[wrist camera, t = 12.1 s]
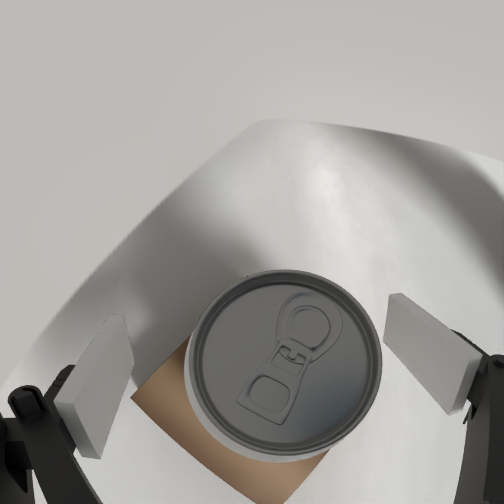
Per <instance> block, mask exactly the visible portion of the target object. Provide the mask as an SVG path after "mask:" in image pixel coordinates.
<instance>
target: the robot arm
mask: <svg viewBox="0 0 504 504" xmlns="http://www.w3.org/2000/svg"><path fill="white" fill-rule="evenodd" d="M383 342H384V343H385V344H386V345H387V346H388V347H389V348H390V350H391V351H392V352H393V353H394V354H395V355H396V356H397V357H398V358H399V360H400V361H401V362H402V363H403V364H404V365H405V366H406V367H407V369H408V370H409V371H410V372H411V373H412V374H413V375H414V376H415V378H416V379H417V380H418V381H419V382H420V383H421V384H422V386H423V387H424V388H425V389H426V390H427V391H428V393H429V394H430V395H431V396H432V397H433V398H434V399H435V401H436V402H437V403H438V404H439V405H440V406H441V408H442V409H443V410H444V411H445V412H446V413H447V415H448V416H449V415H452V414H454V413H457V412H459V411H461V410H462V409H463V407H464V404H465V402H466V399H468V400H469V401H470V402H471V406H470V408H469V410H468V412H467V415H466V417H465V419H464V421H463V424H465V423H466V421H467V420H468V422H467V431H466V440H465V447H464V454H463V460H462V466H461V471H460V477H459V482H458V486H457V491H456V495H455V500H454V504H504V355H492V356H489V355H488V354H487V353H485V352H484V351H483V350H482V349H480V348H479V347H478V346H476V345H475V344H473V342H471V341H470V340H469V339H468V340H467V338H466V337H465V336H463V335H462V334H461V333H459V332H456V331H454V330H452V329H449V328H448V327H447V326H445V325H444V324H443V323H441V322H440V321H439V320H437V319H436V318H435V317H433V316H432V315H431V314H429V313H428V312H427V311H425V310H424V309H423V308H421V307H420V306H419V305H417V304H416V303H415V302H413V301H412V300H410V299H409V298H408V297H406V296H405V295H404V294H402V293H397V294H390V295H389V301H388V309H387V317H386V324H385V331H384V337H383ZM134 365H135V361H134V357H133V352H132V348H131V344H130V340H129V335H128V331H127V326H126V321H125V316H124V315H109V317H108V318H107V320H106V321H105V323H104V324H103V326H102V327H101V328H100V330H99V331H98V333H97V334H96V336H95V337H94V339H93V340H92V342H91V343H90V345H89V346H88V347H87V349H86V350H85V352H84V354H83V355H82V357H81V358H80V360H79V361H78V363H77V364H76V365H68V366H67V367H65V368H64V369H63V370H61V371H60V373H59V374H58V376H57V377H56V380H54V382H53V383H52V386H50V388H49V389H48V391H47V392H46V394H45V395H44V397H43V396H42V393H41V391H40V390H39V388H38V387H35V386H32V385H26V386H21V387H19V388H17V389H15V390H14V391H13V392H11V393H10V395H9V397H8V403H9V405H10V407H11V409H12V411H13V413H14V415H15V417H16V418H3V417H2V415H1V413H0V504H35V499H34V490H33V480H32V470H34V472H35V475H36V478H37V480H38V483H39V485H40V487H41V490H42V492H43V494H44V497H45V499H46V501H47V503H48V504H103V503H102V502H101V500H100V498H99V497H98V495H97V494H96V492H95V491H94V489H93V488H92V486H91V484H90V483H89V481H88V479H87V478H86V476H85V474H84V473H83V471H82V469H81V467H80V466H79V464H78V462H77V460H76V459H75V457H74V455H73V453H74V451H75V448H76V447H77V449H78V451H79V453H80V454H81V456H82V457H87V458H94V459H101V456H102V453H103V450H104V447H105V444H106V441H107V438H108V435H109V432H110V429H111V426H112V423H113V421H114V418H115V415H116V412H117V409H118V407H119V404H120V401H121V399H122V396H123V393H124V391H125V388H126V385H127V383H128V380H129V377H130V375H131V372H132V370H133V367H134Z"/></svg>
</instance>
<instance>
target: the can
mask: <svg viewBox="0 0 504 504" xmlns="http://www.w3.org/2000/svg"><path fill="white" fill-rule="evenodd" d="M381 375H382V352H381V346H380V341H379V338H378V334H377V332H376V329H375V327H374V325H373V323H372V321H371V319H370V317H369V315H368V314H367V312H366V311H365V310H364V308H363V307H362V306H361V304H360V303H359V302H358V301H357V300H356V299H355V298H354V297H353V296H352V295H351V294H350V293H349V292H347V291H346V290H345V289H343V288H342V287H340V286H339V285H337V284H336V283H334V282H332V281H330V280H328V279H326V278H324V277H321V276H319V275H316V274H313V273H309V272H304V271H298V270H271V271H265V272H261V273H257V274H254V275H251V276H248V277H246V278H243V279H241V280H239V281H237V282H236V283H234V284H232V285H231V286H229V287H228V288H226V289H225V290H224V291H222V292H221V293H220V294H219V295H218V296H217V297H216V298H215V299H214V300H213V301H212V302H211V303H210V304H209V306H208V307H207V308H206V310H205V311H204V313H203V314H202V316H201V318H200V319H199V321H198V323H197V325H196V327H195V329H194V331H193V333H192V335H191V338H190V340H189V343H188V346H187V350H186V355H185V362H184V379H185V387H186V391H187V395H188V398H189V401H190V404H191V406H192V408H193V410H194V412H195V414H196V416H197V418H198V419H199V421H200V422H201V424H202V425H203V426H204V428H205V429H206V430H207V431H208V432H209V433H210V434H211V435H212V436H213V437H214V438H215V439H216V440H217V441H218V442H220V443H221V444H222V445H224V446H225V447H227V448H228V449H230V450H232V451H234V452H236V453H238V454H240V455H243V456H245V457H248V458H251V459H255V460H259V461H265V462H276V463H283V462H294V461H299V460H304V459H307V458H311V457H313V456H316V455H318V454H321V453H323V452H325V451H327V450H328V449H330V448H332V447H333V446H335V445H336V444H338V443H339V442H340V441H341V440H343V439H344V438H345V437H346V436H347V435H348V434H349V433H350V432H351V431H353V430H354V429H355V428H356V427H357V426H358V425H359V423H360V422H361V421H362V420H363V419H364V417H365V416H366V414H367V413H368V411H369V410H370V408H371V406H372V404H373V402H374V400H375V398H376V395H377V392H378V389H379V386H380V381H381Z"/></svg>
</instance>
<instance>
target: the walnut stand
mask: <svg viewBox="0 0 504 504" xmlns="http://www.w3.org/2000/svg"><path fill="white" fill-rule="evenodd" d="M247 277H248V276H247ZM191 335H192V334H191ZM191 335H190V336H189V337H188V338H187V340H186V341H185V342H184V343H183V344H182V345H181V346H180V347H179V348H178V349H177V350H176V351H175V352H174V353H173V354H172V355H171V356H170V357H169V358H168V359H167V360H166V361H165V362H164V363H163V364H162V365H161V366H160V367H159V368H158V369H157V370H156V371H155V372H154V374H153V375H152V376H151V377H150V378H149V379H148V380H147V381H146V382H145V383H144V384H143V385H142V386H141V387H140V388H139V389H138V390H137V391H136V392H135V393H134V394H133V395H132V396H131V397H130V398H131V399H132V400H133V401H134V402H135V403H136V404H137V405H138V406H139V407H140V408H141V409H142V410H143V411H144V412H145V413H146V414H147V415H148V416H149V417H150V418H151V419H152V420H153V421H154V422H155V423H156V424H157V425H158V426H159V427H160V428H161V429H162V430H164V431H165V432H166V433H167V434H168V435H169V436H170V437H171V438H172V439H173V440H175V441H176V442H177V443H178V444H179V445H180V446H181V447H182V448H184V449H185V450H186V451H187V452H188V453H189V454H191V455H192V456H193V457H194V458H195V459H197V460H198V461H199V462H200V463H202V464H203V465H204V466H205V467H207V468H208V469H209V470H210V471H212V472H213V473H214V474H216V475H217V476H218V477H219V478H221V479H222V480H223V481H225V482H226V483H227V484H229V485H230V486H232V487H233V488H234V489H236V490H237V491H239V492H240V493H241V494H243V495H244V496H246V497H247V498H249V499H250V500H252V501H253V502H255V503H256V504H283V503H284V502H285V501H286V500H287V499H288V498H289V497H290V496H291V495H292V494H293V492H294V491H295V490H296V489H297V488H298V487H299V486H300V485H301V484H302V482H303V481H304V480H305V479H306V478H307V477H308V475H309V474H310V473H311V472H312V471H313V470H314V468H315V467H316V466H317V465H318V464H319V462H320V461H321V460H322V459H323V457H324V456H325V455H326V454H327V452H328V451H329V450H330V449H328V450H327V451H325V452H323V453H321V454H318V455H316V456H313V457H311V458H307V459H304V460H299V461H294V462H283V463H276V462H265V461H259V460H255V459H251V458H248V457H245V456H243V455H240V454H238V453H236V452H234V451H232V450H230V449H228V448H227V447H225V446H224V445H222V444H221V443H220V442H218V441H217V440H216V439H215V438H214V437H213V436H212V435H211V434H210V433H209V432H208V431H207V430H206V429H205V428H204V426H203V425H202V424H201V422H200V421H199V419H198V418H197V416H196V414H195V412H194V410H193V408H192V406H191V404H190V401H189V398H188V395H187V391H186V387H185V379H184V362H185V355H186V350H187V346H188V343H189V340H190V338H191Z"/></svg>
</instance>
